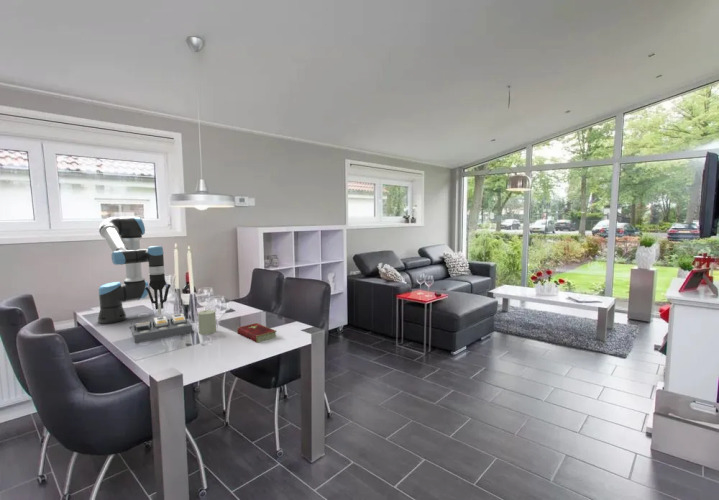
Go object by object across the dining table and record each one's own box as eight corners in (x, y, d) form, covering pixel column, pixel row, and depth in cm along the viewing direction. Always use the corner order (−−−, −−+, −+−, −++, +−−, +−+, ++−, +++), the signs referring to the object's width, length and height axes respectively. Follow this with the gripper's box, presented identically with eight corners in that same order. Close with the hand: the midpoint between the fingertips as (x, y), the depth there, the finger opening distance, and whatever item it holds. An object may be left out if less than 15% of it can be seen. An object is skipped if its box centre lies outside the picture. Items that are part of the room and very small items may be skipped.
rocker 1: (135, 326, 205) (135, 323, 205) (148, 324, 208) (147, 321, 208) (137, 326, 198) (136, 323, 198) (149, 324, 202) (149, 321, 202)
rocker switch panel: (131, 334, 205) (130, 322, 205) (186, 325, 222) (185, 314, 221) (134, 342, 193) (133, 330, 192) (192, 332, 209) (191, 320, 208)
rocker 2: (171, 317, 215) (171, 315, 215) (182, 315, 219) (182, 313, 218) (174, 323, 209) (174, 321, 209) (185, 321, 213) (185, 319, 212)
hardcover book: (256, 343, 191) (256, 335, 191) (237, 334, 206) (237, 327, 205) (276, 338, 199) (276, 330, 199) (256, 329, 214) (256, 322, 214)
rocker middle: (153, 320, 210) (153, 317, 210) (165, 318, 214) (165, 315, 213) (156, 326, 204) (156, 324, 204) (168, 324, 207) (168, 322, 207)
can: (212, 328, 216) (211, 308, 214) (219, 331, 209) (218, 311, 208) (196, 332, 209) (195, 311, 208) (202, 335, 203) (201, 314, 201)
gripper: (144, 275, 201) (147, 318, 204) (171, 273, 209) (173, 314, 211) (142, 274, 207) (145, 315, 210) (168, 271, 215) (171, 311, 217)
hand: (159, 314), depth 211 cm, fingers closed
